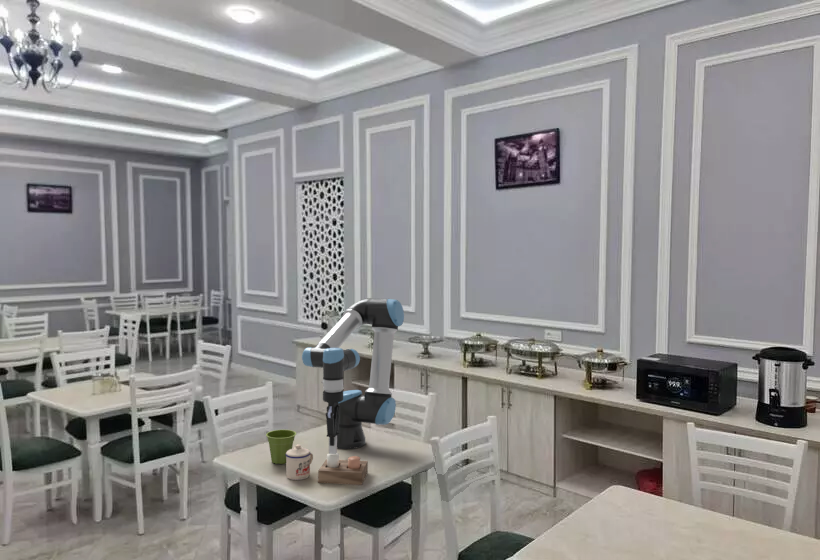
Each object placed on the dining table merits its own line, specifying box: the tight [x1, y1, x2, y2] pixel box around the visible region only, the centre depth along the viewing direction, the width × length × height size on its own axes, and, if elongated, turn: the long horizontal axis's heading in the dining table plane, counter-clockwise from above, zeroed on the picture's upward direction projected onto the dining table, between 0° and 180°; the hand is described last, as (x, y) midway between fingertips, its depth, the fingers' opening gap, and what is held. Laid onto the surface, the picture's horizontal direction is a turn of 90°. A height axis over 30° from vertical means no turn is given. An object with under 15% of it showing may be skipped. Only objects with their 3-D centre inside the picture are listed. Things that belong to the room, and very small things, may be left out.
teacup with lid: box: [285, 444, 314, 481], centre depth 216 cm, size 12×9×12 cm
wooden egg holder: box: [317, 458, 369, 486], centre depth 213 cm, size 12×16×4 cm
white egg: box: [326, 452, 340, 468], centre depth 213 cm, size 4×4×6 cm
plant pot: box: [265, 429, 297, 465], centre depth 230 cm, size 12×12×11 cm
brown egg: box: [347, 455, 361, 469], centre depth 212 cm, size 4×4×6 cm
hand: (332, 453), depth 213 cm, fingers closed
